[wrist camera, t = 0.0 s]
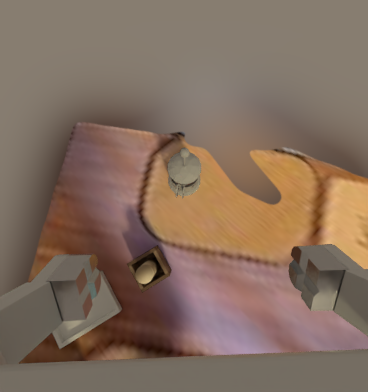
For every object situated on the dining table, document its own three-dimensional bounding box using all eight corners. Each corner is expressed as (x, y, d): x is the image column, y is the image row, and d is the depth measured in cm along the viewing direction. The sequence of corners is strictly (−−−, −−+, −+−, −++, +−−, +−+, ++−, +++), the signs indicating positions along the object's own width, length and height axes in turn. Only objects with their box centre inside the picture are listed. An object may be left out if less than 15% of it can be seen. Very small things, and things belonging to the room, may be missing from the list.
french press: (203, 167, 66) (215, 131, 41) (195, 204, 64) (203, 190, 39) (171, 161, 66) (164, 122, 41) (163, 198, 64) (151, 180, 39)
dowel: (161, 268, 60) (156, 277, 49) (149, 275, 60) (140, 287, 48) (154, 255, 61) (147, 262, 49) (142, 262, 61) (132, 271, 49)
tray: (122, 308, 60) (120, 311, 58) (64, 345, 58) (59, 349, 56) (102, 270, 61) (99, 271, 59) (45, 304, 60) (40, 307, 58)
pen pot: (171, 270, 61) (169, 275, 54) (147, 285, 61) (142, 292, 54) (157, 245, 62) (154, 247, 55) (133, 259, 62) (126, 264, 55)
